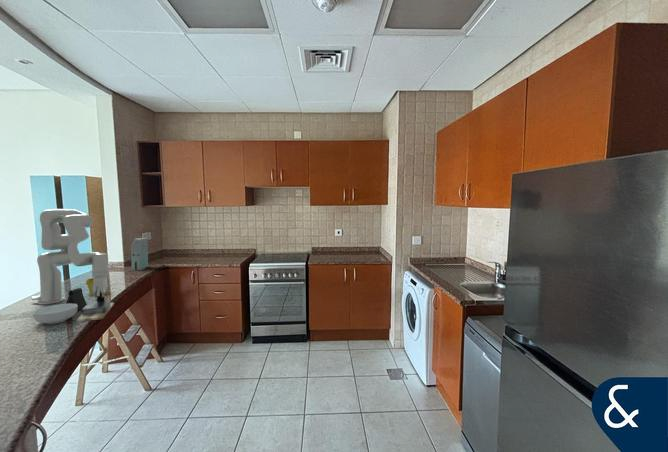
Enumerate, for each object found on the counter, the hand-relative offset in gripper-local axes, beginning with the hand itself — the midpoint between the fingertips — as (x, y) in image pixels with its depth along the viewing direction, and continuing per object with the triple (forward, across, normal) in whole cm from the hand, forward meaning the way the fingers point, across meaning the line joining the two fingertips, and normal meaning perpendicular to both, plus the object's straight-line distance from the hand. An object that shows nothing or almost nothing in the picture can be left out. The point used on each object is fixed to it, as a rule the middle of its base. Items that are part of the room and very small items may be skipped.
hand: (100, 303), depth 170 cm
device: (+3, -121, +4) cm, 121 cm away
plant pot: (+3, -40, -11) cm, 41 cm away
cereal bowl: (+3, +15, -15) cm, 22 cm away
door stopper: (+3, -4, -12) cm, 13 cm away
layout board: (+3, +8, 0) cm, 8 cm away
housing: (+1, +8, 0) cm, 8 cm away
